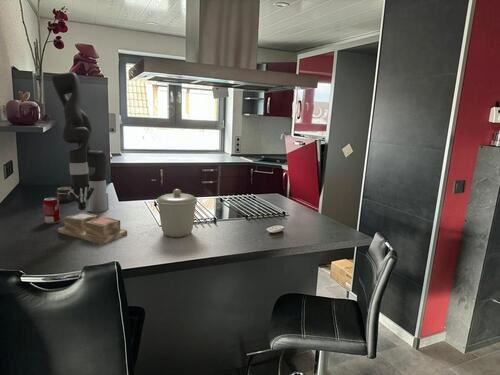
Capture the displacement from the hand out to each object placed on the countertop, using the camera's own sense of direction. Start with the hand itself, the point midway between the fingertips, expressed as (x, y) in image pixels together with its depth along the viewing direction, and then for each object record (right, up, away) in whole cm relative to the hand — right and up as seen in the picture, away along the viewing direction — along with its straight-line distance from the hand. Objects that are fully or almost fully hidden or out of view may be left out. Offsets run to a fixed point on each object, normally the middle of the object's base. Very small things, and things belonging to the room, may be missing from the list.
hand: (82, 209), depth 160 cm
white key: (-1, -6, +1) cm, 6 cm away
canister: (+43, -11, +2) cm, 45 cm away
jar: (-36, +2, +56) cm, 67 cm away
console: (+5, -11, -1) cm, 12 cm away
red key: (+12, -8, -5) cm, 15 cm away
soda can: (-21, -7, +13) cm, 25 cm away
